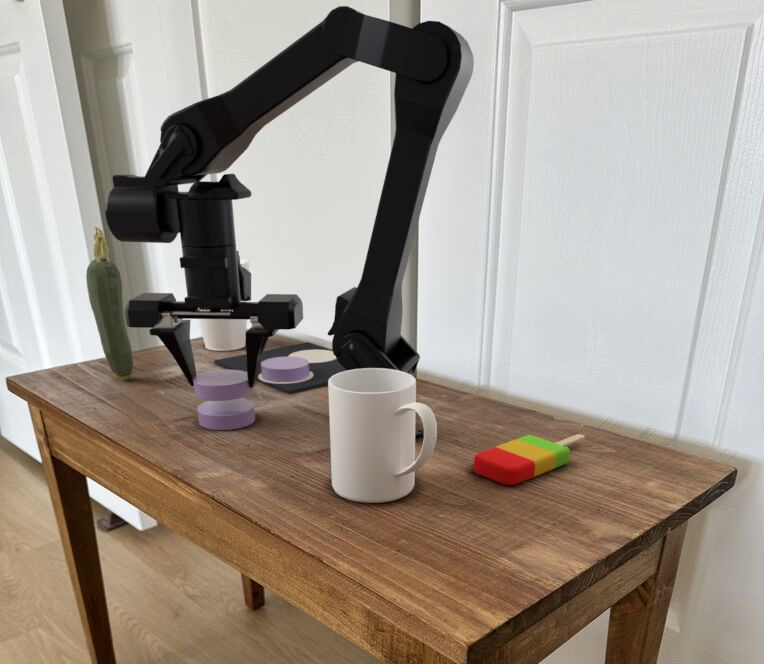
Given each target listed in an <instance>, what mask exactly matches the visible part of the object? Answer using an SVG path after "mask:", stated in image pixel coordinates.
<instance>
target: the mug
mask: <svg viewBox="0 0 764 664" xmlns="http://www.w3.org/2000/svg"><path fill="white" fill-rule="evenodd" d="M327 386H328V413H329V414H328V416H329V441H330V443H329V444H330V467H331V468H330V469H331V472H330V473H331V487H332V488H333V490H334V492H335V494H337V495H338V496H340V497H341V498H344V499H345V500H349V501H353V502H357V503H365V504H380V503H387V502H392V501H397V500H399V499H401V498H404V497H406V496H408V495H409V494H410V493H412V491H413V489H414V488H415V477H416V476H415V475H416V473H415V472H416V471H418V470H420V469H421V468H422V467H423V466H424V465H426V464H427V462H428V461H429V459H430V458H431V457H432V455H433V453H434V450H435V447H436V442H437V437H438V425H437V419H436V416H435V413H434V412H433V410H432V409H431V407H429V406H428V405H427V404H425V403H422V402H417V380H416V377H415V376H413V374H411V375H410V374H408V373H406V372H402V371H398V370H393V369H383V368H363V369H354V370H348V371H344V372H340V373H337V374H335V375H333V376H332V377H331V378H330V379H329V381H328V384H327ZM416 413H417V414H418V416H419V417H420V420H421V421H422V422H421V423H422V426H423V430H424V436H423V442H422V447H421V449H420V453H419V455H418V457H417V458H416V438H415V427H416V417H417V415H416Z"/></svg>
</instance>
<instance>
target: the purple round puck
mask: <svg viewBox="0 0 764 664" xmlns="http://www.w3.org/2000/svg"><path fill="white" fill-rule="evenodd" d="M261 373H262V378H263V379H265V380H268V381H273V382H293V381H299V380H303V379H305V378H307V377H309V375H310V371H309V361H308V360H307V359H304V358H300V357H275V358H270V359H267V360H264V361H263V362H261Z"/></svg>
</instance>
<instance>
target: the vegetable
mask: <svg viewBox="0 0 764 664" xmlns="http://www.w3.org/2000/svg"><path fill="white" fill-rule="evenodd" d="M94 230H95V232H94V236H93V257H94V259H93V260H91V261H90V263H89V264H88V265H87V268H86V276H85V278H86V288H87V294H88V301H89V304H90V307H91V311H92V313H93V316H94V320H95V325H96V328H97V332H98V335H99V339H100V344H101V347H102V351H103V354H104V357H105V359H106V361H107V363H108V366H109V368H110V371H112V373H113V374H115V376H117V378H119V379H120V380H121V381H125V380H131V379H132V377H133V376H132V375H133V373H134V372H133V371H134V369H133V368H134V358H133V357H134V356H133V352H132V347H131V342H130V340H129V339H130V338H129V335H128V333H127V329H126V325H125V319H124V312H123V311H124V310H123V309H124V308H123V282H122V277H121V273H120V270H119V269H118V267H117V265H116V264H114V262H112V261H111V260H110V259H108V258H109V257H110V249H109V246H108V245H109V244H107V241H106V237H105V236H104V233H103V231H102V229H101V228H99V227H98V226H95V227H94Z"/></svg>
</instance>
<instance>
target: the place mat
mask: <svg viewBox="0 0 764 664" xmlns="http://www.w3.org/2000/svg"><path fill="white" fill-rule="evenodd" d="M275 357H300V358H304V359H307V360H308V361H309V371H310V375H309V377H307V378H305V379H303V380H299V381H293V382H273V381H268V380H265V379H263V378H262V373H261V362H263V361H264V360H267V359H270V358H275ZM261 362H260V366H259V370H258V374H257V378H256V381H257V382H259V383H261V384H265V385H267V386H270V387H272V388H275V389H277V390H280V391H281V392H285V393H287V394H294V393H298V392H301V391H306V390H310V389H315V388H319V387H323V386H328V381H329V379H330V378H331V377H332V376H333V375H335V374H337V373H340V372H344V371H346V369H345V368H344V367H343V366H342V365H341V364H340V363H339V362H338V360H337V358H336V356H335V355H334V354H333V350H332V348H328V347H325V346H321V345H318V344H315V343H313V342H312V343H311V342H308V341H307V342H303V343H297V344H291V345H287V346H280V347H275V348H271V349H264V351H263V354H262V358H261ZM213 363H214V364H216V365H218V366H221V367H223V368H226V369H227V370H240V371H245V372H247V356H246V353H245V354H240V355H235V356H230V357H224V358H220V359H215V360H213Z"/></svg>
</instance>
